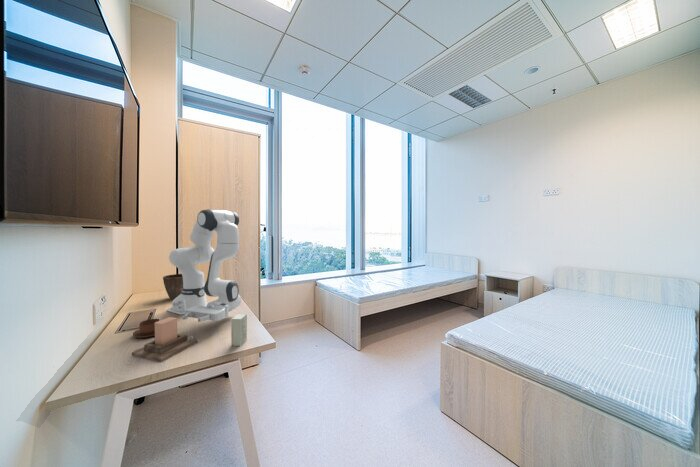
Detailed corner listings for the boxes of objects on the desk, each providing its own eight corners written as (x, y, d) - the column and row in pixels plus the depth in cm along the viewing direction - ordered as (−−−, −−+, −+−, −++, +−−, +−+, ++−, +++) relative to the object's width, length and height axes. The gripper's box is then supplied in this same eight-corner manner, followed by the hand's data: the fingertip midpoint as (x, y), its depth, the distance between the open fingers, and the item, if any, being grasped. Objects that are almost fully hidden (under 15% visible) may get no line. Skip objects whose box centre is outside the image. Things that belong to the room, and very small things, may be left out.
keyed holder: (131, 355, 98) (131, 346, 97) (170, 337, 113) (170, 329, 113) (161, 361, 93) (161, 352, 93) (197, 342, 109) (197, 334, 109)
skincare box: (238, 339, 112) (237, 313, 111) (247, 339, 112) (247, 313, 111) (230, 346, 106) (230, 318, 105) (240, 346, 105) (240, 318, 105)
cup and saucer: (139, 331, 120) (139, 318, 119) (168, 327, 124) (168, 315, 124) (128, 342, 109) (127, 328, 108) (160, 337, 113) (160, 324, 113)
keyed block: (155, 348, 101) (154, 322, 100) (170, 341, 107) (170, 316, 106) (162, 350, 99) (161, 323, 99) (177, 342, 106) (177, 317, 105)
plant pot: (163, 297, 173) (162, 275, 173) (188, 293, 182) (188, 272, 182) (162, 302, 161) (162, 279, 161) (189, 298, 170) (189, 276, 170)
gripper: (199, 301, 130) (174, 310, 117) (230, 305, 125) (208, 314, 111) (199, 312, 130) (174, 323, 117) (230, 317, 125) (208, 328, 112)
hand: (191, 319), depth 114 cm, fingers open, 8 cm apart
